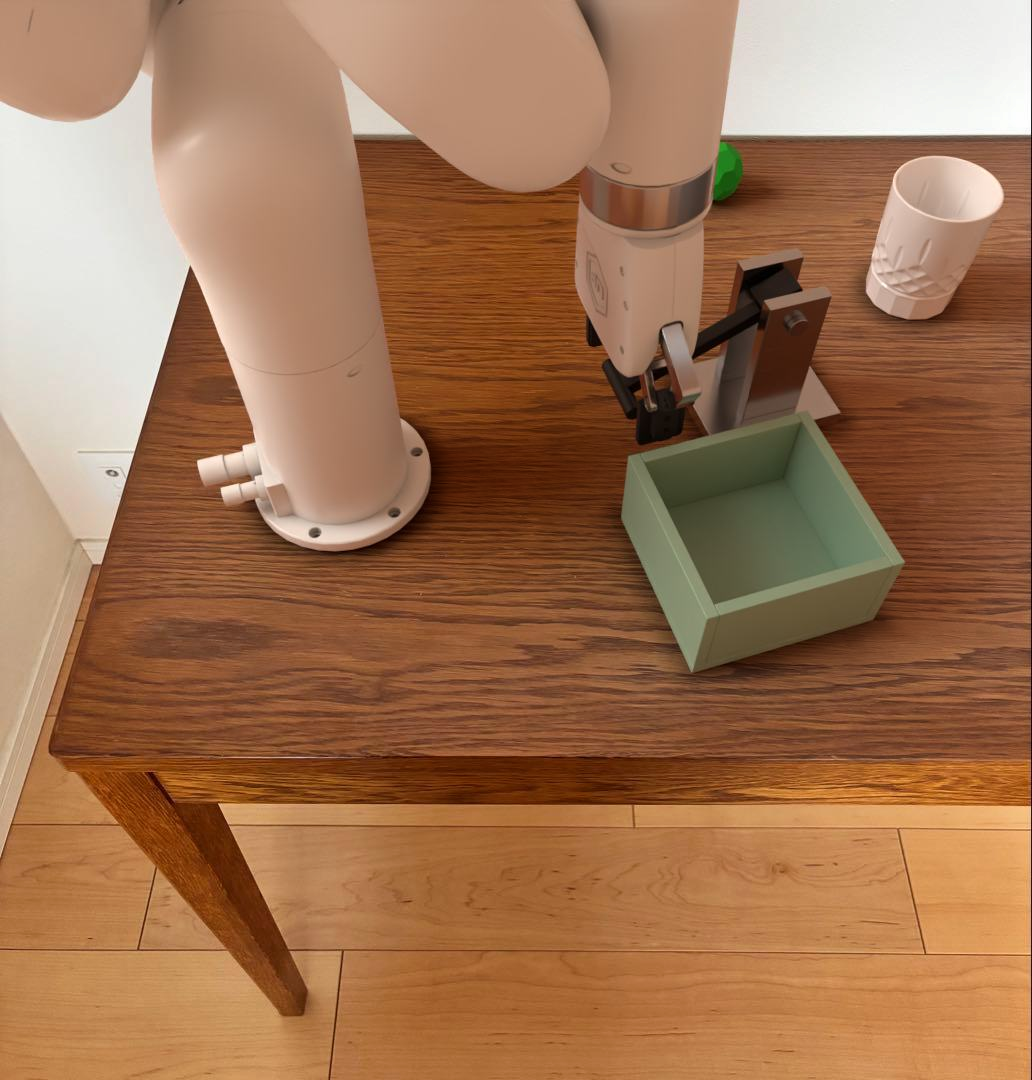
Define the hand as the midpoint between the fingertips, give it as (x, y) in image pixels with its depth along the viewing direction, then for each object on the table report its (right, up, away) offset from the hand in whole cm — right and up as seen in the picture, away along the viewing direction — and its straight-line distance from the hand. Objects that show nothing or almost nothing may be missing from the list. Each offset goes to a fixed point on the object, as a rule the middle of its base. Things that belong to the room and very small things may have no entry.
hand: (632, 387), depth 69 cm
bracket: (+10, 0, +6) cm, 11 cm away
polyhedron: (+9, +20, +20) cm, 30 cm away
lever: (+5, +2, 0) cm, 6 cm away
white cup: (+24, +9, +12) cm, 28 cm away
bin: (+7, -13, -3) cm, 15 cm away
